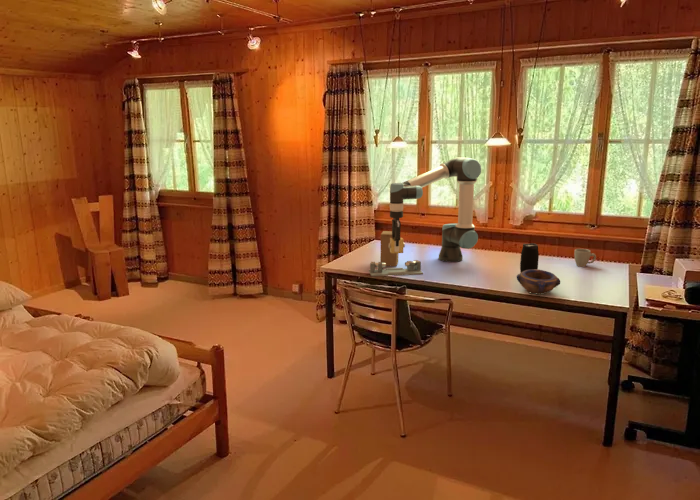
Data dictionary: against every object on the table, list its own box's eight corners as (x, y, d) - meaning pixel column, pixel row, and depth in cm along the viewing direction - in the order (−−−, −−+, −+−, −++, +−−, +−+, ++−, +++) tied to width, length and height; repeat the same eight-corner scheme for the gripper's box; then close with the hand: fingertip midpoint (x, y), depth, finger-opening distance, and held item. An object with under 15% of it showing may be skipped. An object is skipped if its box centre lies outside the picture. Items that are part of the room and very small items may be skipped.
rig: (418, 269, 310) (418, 266, 310) (422, 274, 301) (422, 271, 300) (368, 271, 307) (368, 268, 307) (371, 276, 297) (371, 273, 297)
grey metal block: (417, 270, 309) (417, 260, 308) (420, 272, 305) (420, 261, 304) (404, 271, 306) (404, 261, 305) (407, 273, 302) (407, 263, 301)
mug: (573, 266, 314) (574, 251, 312) (573, 263, 322) (575, 248, 320) (594, 268, 309) (596, 252, 307) (595, 265, 317) (596, 249, 315)
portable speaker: (537, 281, 286) (540, 246, 281) (519, 280, 288) (521, 245, 283) (536, 276, 294) (539, 243, 289) (519, 275, 296) (521, 242, 291)
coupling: (403, 250, 304) (403, 237, 302) (404, 252, 299) (405, 239, 297) (388, 251, 303) (388, 237, 301) (389, 253, 298) (389, 239, 296)
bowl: (537, 299, 255) (538, 280, 253) (511, 289, 271) (512, 271, 269) (564, 294, 263) (565, 275, 260) (537, 285, 279) (538, 267, 276)
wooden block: (396, 266, 317) (396, 234, 313) (380, 266, 319) (380, 234, 315) (398, 262, 327) (398, 231, 322) (382, 261, 329) (382, 230, 324)
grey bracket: (385, 272, 305) (385, 262, 304) (385, 274, 301) (385, 264, 300) (371, 271, 307) (371, 261, 305) (370, 273, 302) (370, 263, 301)
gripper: (387, 208, 304) (386, 247, 309) (392, 213, 286) (392, 254, 292) (399, 207, 304) (399, 246, 310) (406, 212, 287) (405, 253, 292)
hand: (395, 250), depth 301 cm, fingers closed on coupling, 5 cm apart
